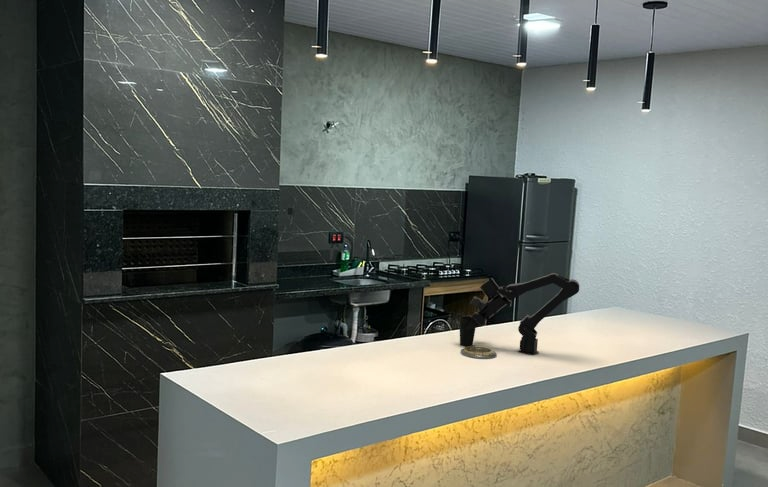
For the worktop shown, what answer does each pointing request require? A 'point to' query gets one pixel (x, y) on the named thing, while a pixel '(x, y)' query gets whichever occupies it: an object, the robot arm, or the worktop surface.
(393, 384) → the worktop surface
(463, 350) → the flange plate
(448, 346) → the worktop surface
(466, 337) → the cup
